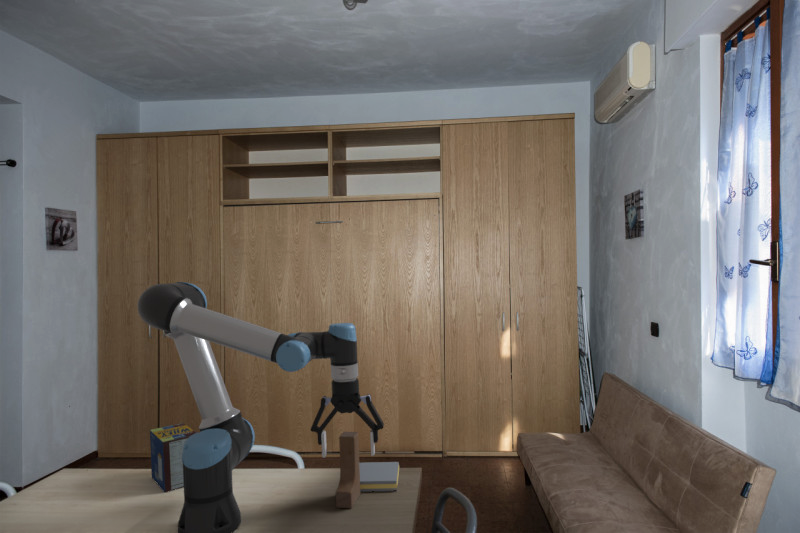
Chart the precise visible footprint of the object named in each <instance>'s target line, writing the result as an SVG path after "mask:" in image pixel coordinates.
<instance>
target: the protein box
mask: <svg viewBox="0 0 800 533" xmlns="http://www.w3.org/2000/svg"><path fill="white" fill-rule="evenodd" d="M195 433H197V431H195V430H193V429H192V428H191V427H190V426H188V425H186V424H185V423H184V422H180V423H176V424H172V425H171V424H170V425H167V426H162V427H158V428H152V429H150V430H149V441H150V442H149V443H150V465H151V466H150V468H151V478H152V480H153V481H154V480H155V481H156V482H157V483H158V484H157V483H156V482H155V481H154V482H155V483H156V484H157V485H158V486H160V487H161V488H160V487H159V488H160V489H161V490H162V491H163V493H168V491H169V492H171V491H175V489H176V490H178V489H182V488H184V482H183V462H182V453H183V445H184V443H185V441H186V440H187V439H188V438H189V437H190V436H192V435H193V434H195Z"/></svg>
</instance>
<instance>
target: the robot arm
mask: <svg viewBox="0 0 800 533" xmlns="http://www.w3.org/2000/svg"><path fill="white" fill-rule="evenodd" d="M207 307H208V301H207V297H206V294H205V293H204V291H203V290H202V289H201V288H200V287H199V286H197V285H196V284H194V283H191V282H183V281H177V282H170V283H158V284H154V285H152V286H149V287H148V288H146V289H145V290H144V291H143V292H142V293H141V294H140V296H139V299H138V302H137V312H138V315H139V318H140V319H141V320H142V321H143V322H144V323H145V324H147V325H148V326H150V327H151V328H154V329H156V330H161V331H163V332H164V335H165V336H166V337H167V338H169V339H171V340H173V342H174V345H175V348H176V350H177V353H178V356H179V358H180V362H181V365H182V367H183V370H184V373H185V375H186V377H187V378H186V379H187V381H188V384H189V387H190V389H191V392H192V395H193V397H194V400H195V403H196V407H197V409H198V412H199V414H200V417H201V422H200V424H199V427H198V429H199V432H196V433H195V434H193V435H192V436H190V437H189V438H188V439H187V440H186V441H185V443H184V445H183V453H182V462H183V482H184V487H183V498H184V499H183V501H184V502H183V505H182V509H181V511H180V515H179V519H178V523H177V533H234V532H235V531H236V530H237V529H239V527H240V526H241V523H242V517H241V514H242V513H241V510H240V508H239V505H238V502H237V500H236V497H235V495H234V492H233V470H234V469H235V468H236V467H237V466H238V465H239V464H241V462H242V461H244V460H245V458H246V457H247V456H248V455H249V454H250V451H252V448H253V446H254V444H255V438H256V434H255V430H254V428H253V426H252V424H251V423H250V421H248V420H247V419H245V418H244V417H243V415H242V413H241V410H240V409H239V408H236V407H234V405H233V404H232V401H231V398H230V395H229V392H228V391H227V387H226V385H225V382H224V379H223V377H222V373H221V370H220V368H219V364H218V362H217V360H216V357H215V354H214V351H213V349H212V345H211V343H213V344H217V345H219V346H222V347H225V348H228V349H232V350H234V351H239V352H241V353H244V354H247V355H250V356H253V357H256V358H259V359H263V360H265V361H269V362H270V363H271V362H272V363H275V364H277V365H278V366H279V368H280V369H281V370H283V371H285V372H288V373H293V372H297V371H300V370H301V369H303V368H305V367H306V366H307V365H308V364H309V363H310V362H311V361H312V360H325V359H329V360H330V378H331V379H332V380H331V397H327V396H326V395H324V396H322V398H321V399H320V405H319V406H320V407H319V409H318V411H317V413H316V416H315V418H314V420H313V423H312V425H311V427H310V432H312V433H313V432H314V433H316V434H317V444H318V445H319V446H321V458H324V459H325V458H326V457H327V454H328V448H327V447H328V446H327V432H326V430H325V428H326V427H327V426H328V424H329V423H330V422H331V421H332V419H333V418H334V417H335V415H336V414H337V413H340V414H352V413H355V414H356V415H358V417H360V419H361V420H362V421H363V422H365V424H366V425H367V426H368V427H369V429H370V432H369V434H370V437H369V438H370V451H371V452H370V454H371V457H374V456H375V453H376V447H375V444H377V443H378V442H379V441H378V440H379V430H382V429H384V427H385V423H384V421H383V419H382V418H381V416H380V415H379V412H378V411H377V409H376V406H375V405H374V404H373V402H372V396H371V394H369V393H368V394H366V395H362V396H361V394H360V384H359V383H360V382H359V379H358V377H359V363H358V338H357V332H356V331H357V330H356V326H355V325H354V324H353V323H352V322H340V323H339V322H338V323H331V324H330V325H329V326H328V330H327V331H312V332H311V331H309V332H308V331H307V332H306V331H305V332H304V331H303V332H302V331H298V332H292V333H289V334H285V333H282V332H279V331H276V330H273V329H269V328H266V327H263V326H261V325H257V324H254V323H251V322H248V321H245V320H242V319H240V318H236V317H233V316H230V315H227V314H224V313H221V312H219V311H214V310H212V309H208V308H207ZM361 402H363V404H365V405H366V406H367V408H368V411H369V412H370V414H371V415H372V417H373V419H374V420H373V419H372V418H371V417H370V416H369V415H368V413H366V412H365V411H364V409H363V408H362V407H361V406H360V403H361ZM330 403H331V404H332V406H333V409H332V410H331V412H329V414H328V415H327V416H326V418H325V419H324V421H323V422H322V423H321V425H319V423H320V420H321V419H322V415H323V414H324V412H325V408H326V407H327V406H329V404H330ZM374 421H375V422H374ZM318 425H319V426H318Z"/></svg>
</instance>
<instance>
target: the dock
mask: <svg viewBox="0 0 800 533" xmlns="http://www.w3.org/2000/svg"><path fill="white" fill-rule="evenodd" d="M359 468H360V493H362V492H363V493H365V492H368V493H370V492H372V491H374V492H389V491H388V490H391V491H390V492H394V491H393V490H397V491H398V483H399V473H400V463H399V461H382V462H381V461H380V462H379V461H374V462H373V461H372V462H359Z"/></svg>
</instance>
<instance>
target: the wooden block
mask: <svg viewBox="0 0 800 533" xmlns="http://www.w3.org/2000/svg"><path fill="white" fill-rule="evenodd" d="M338 440H339V441H338V442H339V444H338V445H339V467H340V468H339V470H340V472H339V483H338V487H337V489H336V491H335V506H336V508H339V509H352V508H353V506H355V504H356V502H357V500H358V499H359V496H360V495H361V492H360V468H359V463H360V449H359V446H360V445H359V432H358V431H343V432H342V433H341V434H340V435H339V437H338Z"/></svg>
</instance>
